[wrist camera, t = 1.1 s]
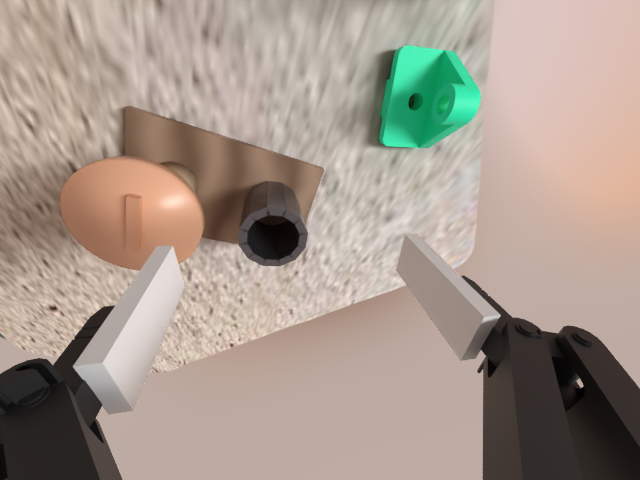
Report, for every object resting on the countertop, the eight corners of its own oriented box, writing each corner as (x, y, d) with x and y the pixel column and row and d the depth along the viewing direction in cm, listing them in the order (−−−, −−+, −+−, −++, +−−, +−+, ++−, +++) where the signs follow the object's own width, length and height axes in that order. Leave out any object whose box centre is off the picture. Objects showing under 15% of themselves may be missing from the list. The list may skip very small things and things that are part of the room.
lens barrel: (234, 194, 38) (225, 224, 29) (285, 172, 38) (290, 196, 29) (260, 237, 42) (258, 274, 34) (306, 218, 42) (316, 251, 34)
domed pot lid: (92, 238, 29) (61, 264, 25) (85, 133, 24) (44, 143, 20) (202, 256, 33) (192, 282, 29) (216, 170, 28) (206, 185, 24)
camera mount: (391, 47, 33) (435, 32, 25) (442, 53, 35) (501, 42, 26) (375, 142, 39) (405, 158, 31) (419, 144, 41) (460, 160, 32)
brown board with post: (129, 218, 38) (93, 252, 30) (130, 106, 31) (83, 111, 23) (293, 250, 47) (298, 283, 39) (322, 167, 40) (336, 187, 32)
